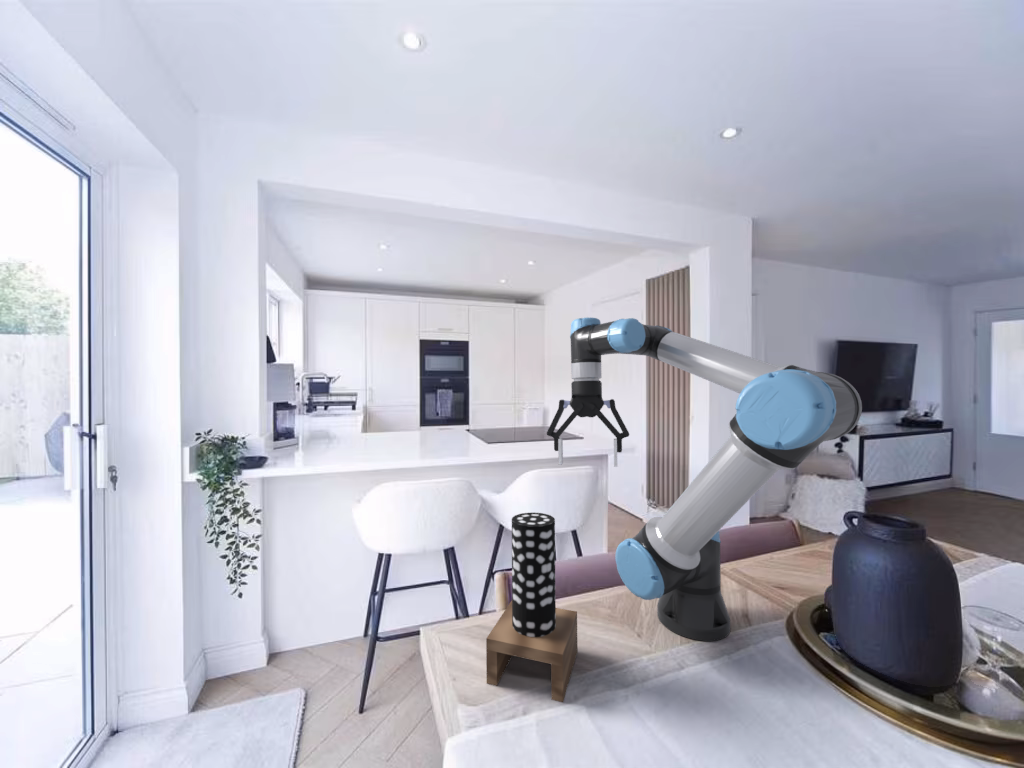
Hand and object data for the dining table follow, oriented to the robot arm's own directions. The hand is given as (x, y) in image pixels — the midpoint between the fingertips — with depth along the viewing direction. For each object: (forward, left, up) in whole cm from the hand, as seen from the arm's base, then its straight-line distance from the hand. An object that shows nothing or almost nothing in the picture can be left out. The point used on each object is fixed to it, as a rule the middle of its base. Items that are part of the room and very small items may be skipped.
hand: (587, 464), depth 101 cm
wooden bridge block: (+7, +27, -34) cm, 44 cm away
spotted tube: (+7, +27, -26) cm, 38 cm away
